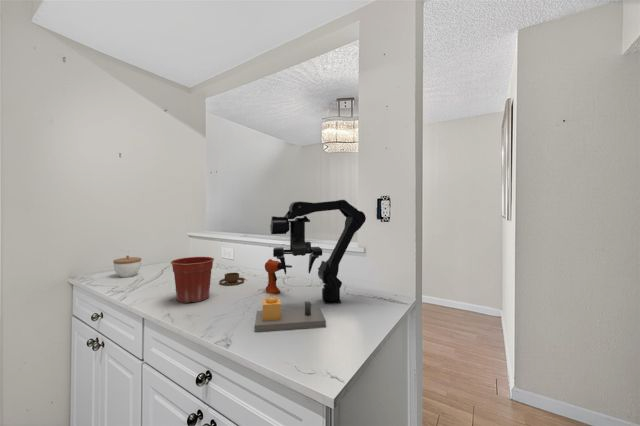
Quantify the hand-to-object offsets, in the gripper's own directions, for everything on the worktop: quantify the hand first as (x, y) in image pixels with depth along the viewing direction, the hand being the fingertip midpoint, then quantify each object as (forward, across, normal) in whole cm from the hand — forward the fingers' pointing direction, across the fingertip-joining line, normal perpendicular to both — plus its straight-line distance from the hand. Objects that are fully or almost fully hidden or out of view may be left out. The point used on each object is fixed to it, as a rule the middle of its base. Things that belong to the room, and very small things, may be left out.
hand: (297, 273), depth 108 cm
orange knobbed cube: (+10, -10, -16) cm, 21 cm away
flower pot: (+12, -42, +14) cm, 46 cm away
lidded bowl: (+12, -88, +60) cm, 107 cm away
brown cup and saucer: (+13, -32, +40) cm, 53 cm away
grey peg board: (+12, -4, -16) cm, 20 cm away
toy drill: (+12, -7, +14) cm, 20 cm away
